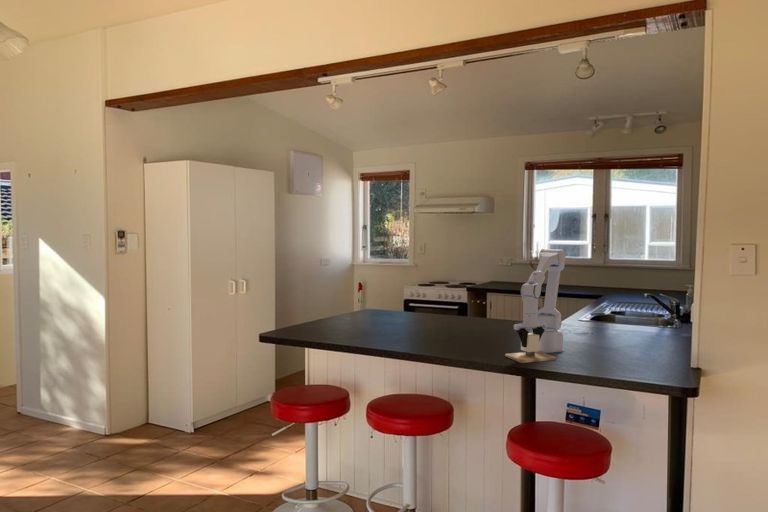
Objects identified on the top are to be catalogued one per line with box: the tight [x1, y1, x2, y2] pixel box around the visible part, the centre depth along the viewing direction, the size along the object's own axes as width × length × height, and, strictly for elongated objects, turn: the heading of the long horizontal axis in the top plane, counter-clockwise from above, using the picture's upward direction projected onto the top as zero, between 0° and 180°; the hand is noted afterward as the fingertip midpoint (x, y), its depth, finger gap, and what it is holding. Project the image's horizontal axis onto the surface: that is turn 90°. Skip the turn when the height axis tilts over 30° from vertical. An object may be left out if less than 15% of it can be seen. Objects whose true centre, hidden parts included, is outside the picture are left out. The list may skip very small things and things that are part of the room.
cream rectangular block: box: [520, 332, 539, 352], centre depth 222 cm, size 5×5×7 cm
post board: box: [504, 351, 557, 364], centre depth 222 cm, size 16×12×6 cm
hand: (530, 346), depth 221 cm, fingers closed on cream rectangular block, 5 cm apart
